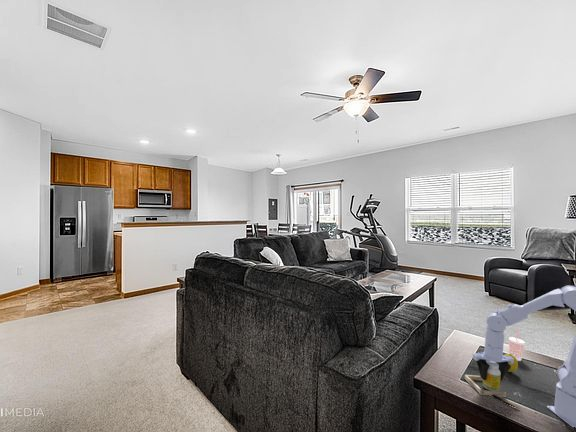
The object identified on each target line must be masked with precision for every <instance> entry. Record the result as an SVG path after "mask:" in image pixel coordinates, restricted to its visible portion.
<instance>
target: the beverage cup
mask: <svg viewBox="0 0 576 432" xmlns="http://www.w3.org/2000/svg"><path fill="white" fill-rule="evenodd" d="M518 335H519V329H516V337H515V336H514V337H513V336H509V337H508V341H509V343H508V348H509V349H508V354H512V355H513V356H514V357H515V358H516V359H517V361H518V362H521V361H522V357H523V353H524V348H525V344H526V341H524V340H522V339H520V338H518V337H519V336H518Z"/></svg>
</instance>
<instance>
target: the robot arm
mask: <svg viewBox="0 0 576 432" xmlns="http://www.w3.org/2000/svg"><path fill="white" fill-rule="evenodd" d="M564 304H565V305H566V306H567V307H569V308H570V309H572V310H574V312H576V285H565V286H563V287H561V288H556V289H553V290H551V291H549V292H547V293H545V294H543V295H541V296H539V297H538V296H537V297H536V298H535V299H532V300H530V301H528V302H526V303H523V304H522V305H519V304H516V303H514V304H512V303H509V304H507V307H505V308H503V309H501V310H495V312H491V313H489V314H488V315H487V317H486V325H487V326H486V330H485V338H484V350H483V352H477V353H473V352H472V359H473V360H475V362H476V364H477V366H478V371H479V376H480V377H481V378H482V379H483V380H486V377H487V371H488V368H489V366H490V365H488V364H487V362H486V361H493V362H496V363H497V364H498V365H499V369H498V370H499V371H500V372H501V378H500V382H503V380H504V377H505V375H506V373H507V372H508V370H509V369H510V368H511V365H509V364H508V362H509V363H511V364H513V362H514V359H513V358H512V357H510V356H505V354H504V344H505V343H504V342H505V333H504V332H505V330H506V328H507V327H509V326H513V325H515V324H518V323H520V322H522V321H525V320H527V319H528V317H529V316H528V315H529V314H532V313H534V312H537V311H541V310H543V309H546V308H548V307H551V306H555V307H561V308H565V305H564ZM556 374H557V377H558V379H559V381H558V382H556V383H555V384H556V385H555V396H554V405H546V407H547V409H549V410H550V411H551V412H552V413H554V414H555V415H557V416H558V417H559V418H560V419H561V420H563V421H564V422H565V423H567V424H568V425H569V426H570V427H572V428H574V427H575V428H574V429H576V331H575V332H574V335H573V339H572V343H571V345H570V349H569V351H568V355H567V358H566V359H565V360H564V362H563V364H562V365H560V366H559V367H558V369H557V370H556Z"/></svg>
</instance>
